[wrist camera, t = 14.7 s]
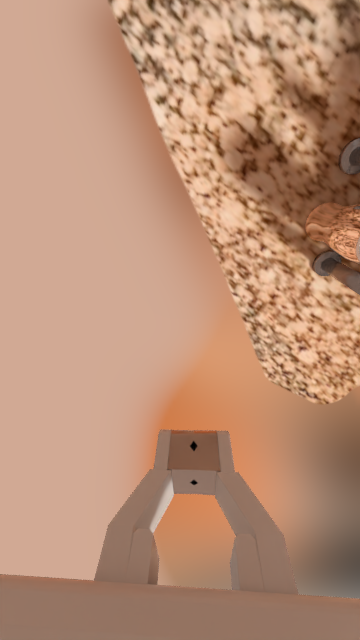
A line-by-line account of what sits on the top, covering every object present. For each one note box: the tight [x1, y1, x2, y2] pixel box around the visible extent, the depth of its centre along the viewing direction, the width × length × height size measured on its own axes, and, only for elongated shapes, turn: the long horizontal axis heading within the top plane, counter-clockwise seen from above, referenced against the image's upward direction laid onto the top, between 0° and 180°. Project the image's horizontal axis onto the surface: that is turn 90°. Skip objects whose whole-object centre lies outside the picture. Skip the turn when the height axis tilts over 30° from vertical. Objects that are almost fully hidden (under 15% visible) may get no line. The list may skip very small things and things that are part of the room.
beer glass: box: [305, 202, 360, 264], centre depth 33 cm, size 7×7×15 cm
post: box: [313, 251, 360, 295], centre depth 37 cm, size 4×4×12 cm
